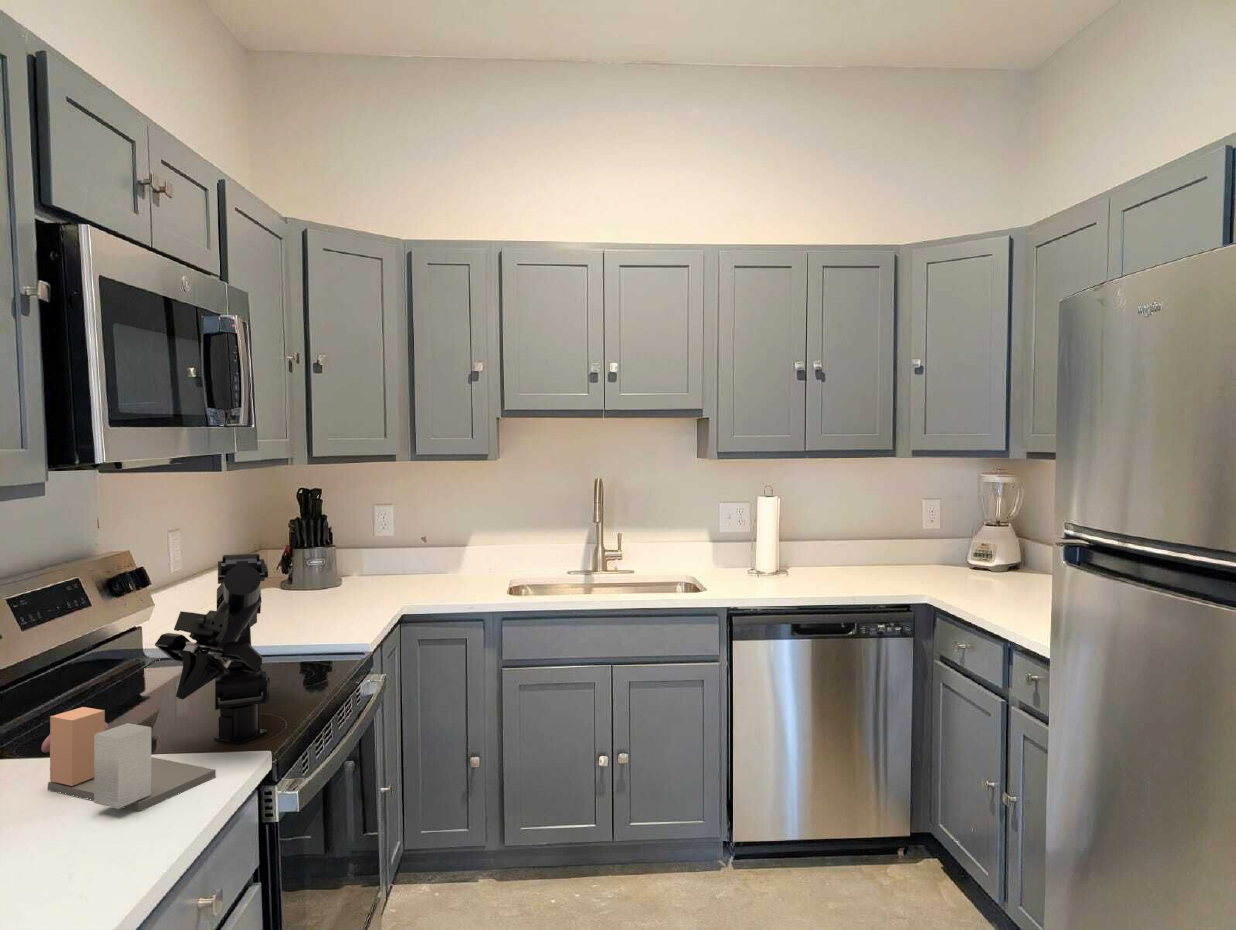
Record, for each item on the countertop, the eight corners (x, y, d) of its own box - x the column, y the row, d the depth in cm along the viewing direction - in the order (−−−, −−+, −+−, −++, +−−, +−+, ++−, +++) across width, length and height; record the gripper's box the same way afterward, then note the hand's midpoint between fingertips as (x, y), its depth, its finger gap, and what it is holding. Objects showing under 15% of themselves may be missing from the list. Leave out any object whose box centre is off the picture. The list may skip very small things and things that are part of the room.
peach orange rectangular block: (82, 768, 121) (83, 706, 121) (104, 773, 119) (104, 710, 119) (50, 780, 116) (50, 716, 116) (71, 785, 114) (72, 720, 114)
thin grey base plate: (128, 759, 128) (128, 752, 128) (215, 776, 121) (215, 769, 121) (47, 790, 116) (47, 782, 116) (139, 811, 109) (139, 803, 109)
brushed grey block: (127, 789, 113) (127, 723, 113) (151, 794, 112) (151, 727, 112) (94, 803, 109) (94, 734, 109) (118, 808, 107) (118, 738, 107)
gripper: (164, 587, 131) (104, 667, 121) (249, 596, 126) (194, 681, 115) (201, 621, 139) (148, 699, 129) (283, 631, 133) (234, 714, 123)
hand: (179, 698), depth 124 cm, fingers closed
